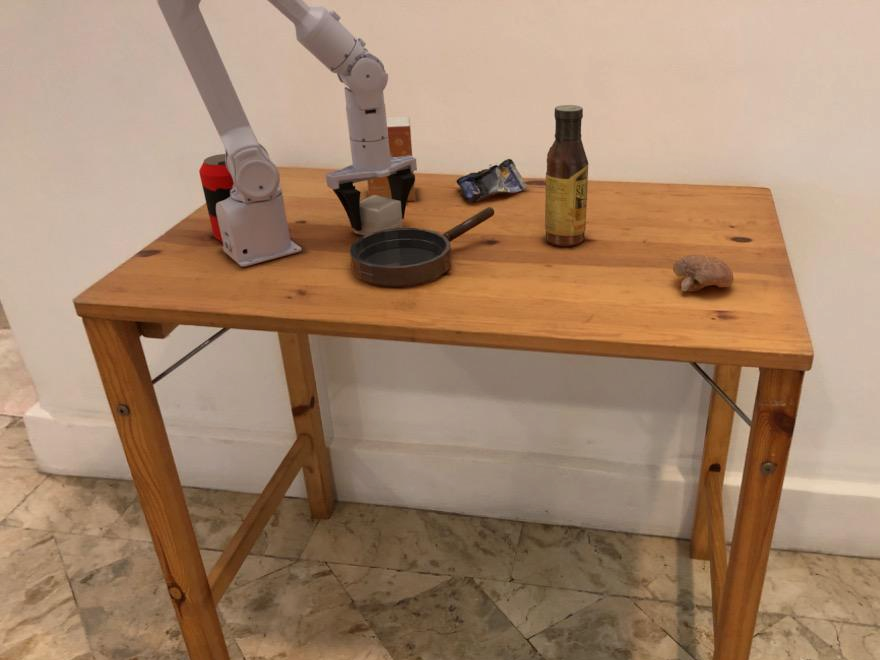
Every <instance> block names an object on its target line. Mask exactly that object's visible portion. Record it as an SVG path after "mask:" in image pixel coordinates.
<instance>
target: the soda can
mask: <svg viewBox="0 0 880 660" xmlns="http://www.w3.org/2000/svg"><path fill="white" fill-rule="evenodd" d="M225 154H226V153H219V154H213V155H211V156H208V157H206V158H204V159H203V162H202V164H201V166H200V168H199V170H198V173H199V177H200V183H201V187H202V192H203V195H204V199H205V204H206V208H207V213H208V218H209V221H210V226H211V230H212V234H213V237H214V238H215V239H216V240H217V241H219V242H222V243H223V241H222V237H221V232H220V228H219V223H218V219H217V214H216V204H217V203H218V202H220V201H223V200H226V199H227V198H229V197H230V196H231V195H230V190H232V187H233V185H234V182H233V178H232V176H231V174H230V173H229V171H228V169H227V167H226V164H225Z"/></svg>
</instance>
